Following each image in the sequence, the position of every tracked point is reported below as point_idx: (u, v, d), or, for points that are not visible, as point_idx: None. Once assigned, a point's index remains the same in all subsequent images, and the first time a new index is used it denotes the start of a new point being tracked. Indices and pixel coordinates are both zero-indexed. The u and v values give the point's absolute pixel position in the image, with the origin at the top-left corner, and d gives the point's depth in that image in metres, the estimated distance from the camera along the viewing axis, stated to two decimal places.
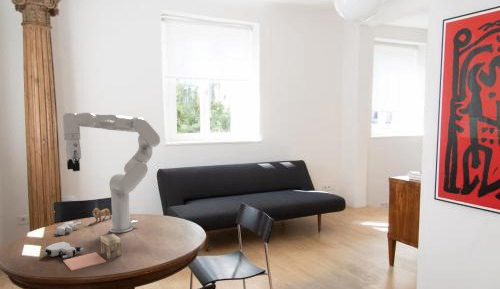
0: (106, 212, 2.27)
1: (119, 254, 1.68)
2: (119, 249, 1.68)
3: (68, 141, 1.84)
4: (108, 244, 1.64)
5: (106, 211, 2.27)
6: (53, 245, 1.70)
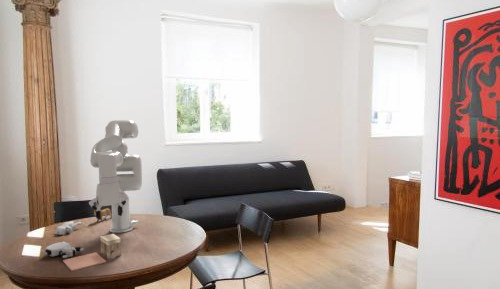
0: (107, 212, 2.28)
1: (119, 254, 1.68)
2: (119, 249, 1.68)
3: (114, 184, 1.67)
4: (108, 244, 1.64)
5: (107, 211, 2.28)
6: (53, 245, 1.70)
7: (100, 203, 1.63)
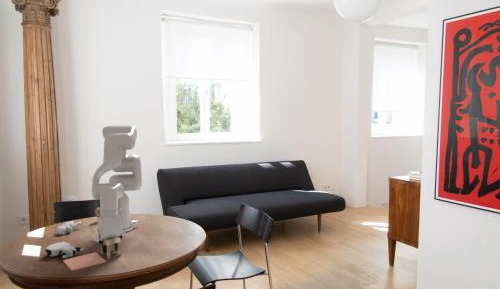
0: None
1: (119, 254, 1.68)
2: (119, 249, 1.68)
3: (115, 217, 1.68)
4: (108, 244, 1.64)
5: None
6: (53, 245, 1.70)
7: (101, 236, 1.65)
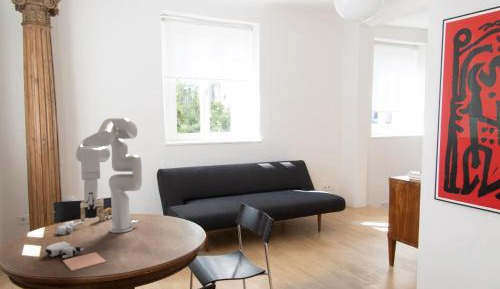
0: (109, 211, 2.30)
1: (103, 215, 1.66)
2: (103, 210, 1.66)
3: None
4: (102, 204, 1.61)
5: (109, 210, 2.30)
6: (53, 245, 1.70)
7: (96, 198, 1.59)
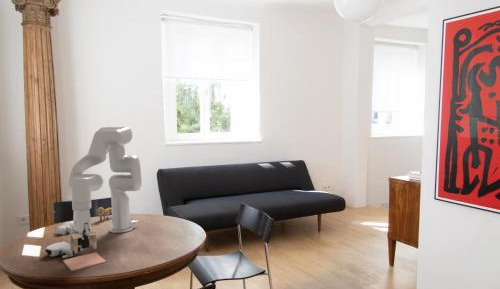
0: (110, 211, 2.30)
1: None
2: None
3: None
4: None
5: (110, 210, 2.30)
6: (53, 245, 1.70)
7: (90, 228, 1.58)
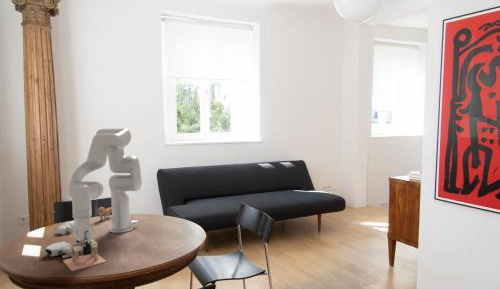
0: (110, 211, 2.31)
1: None
2: None
3: None
4: None
5: (110, 210, 2.31)
6: (53, 245, 1.70)
7: None
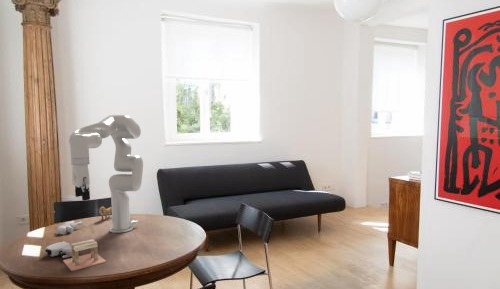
0: (111, 210, 2.31)
1: None
2: None
3: None
4: None
5: (111, 209, 2.31)
6: (53, 245, 1.70)
7: (89, 183, 1.65)
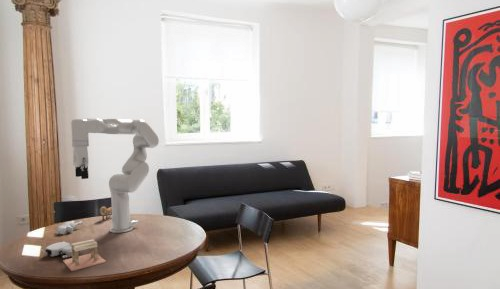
0: None
1: None
2: None
3: None
4: None
5: None
6: (53, 245, 1.70)
7: None
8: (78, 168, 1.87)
